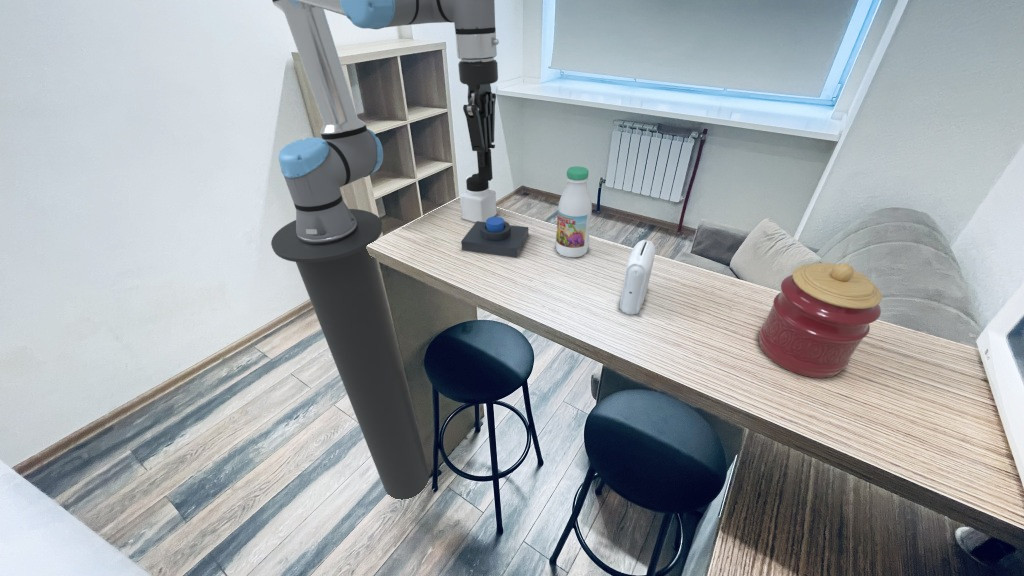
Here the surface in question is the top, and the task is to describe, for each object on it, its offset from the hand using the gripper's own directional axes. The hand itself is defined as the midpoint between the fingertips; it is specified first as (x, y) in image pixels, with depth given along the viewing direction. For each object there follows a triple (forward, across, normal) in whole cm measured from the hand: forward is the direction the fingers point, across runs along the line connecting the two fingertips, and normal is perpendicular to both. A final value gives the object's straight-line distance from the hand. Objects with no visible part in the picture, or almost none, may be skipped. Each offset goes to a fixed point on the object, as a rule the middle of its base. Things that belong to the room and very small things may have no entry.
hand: (485, 179), depth 91 cm
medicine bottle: (+17, +14, +8) cm, 24 cm away
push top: (+13, +2, -1) cm, 13 cm away
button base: (+17, +2, -1) cm, 17 cm away
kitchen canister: (+18, -20, -63) cm, 69 cm away
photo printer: (+18, -13, -35) cm, 42 cm away
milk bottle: (+18, +3, -20) cm, 27 cm away
